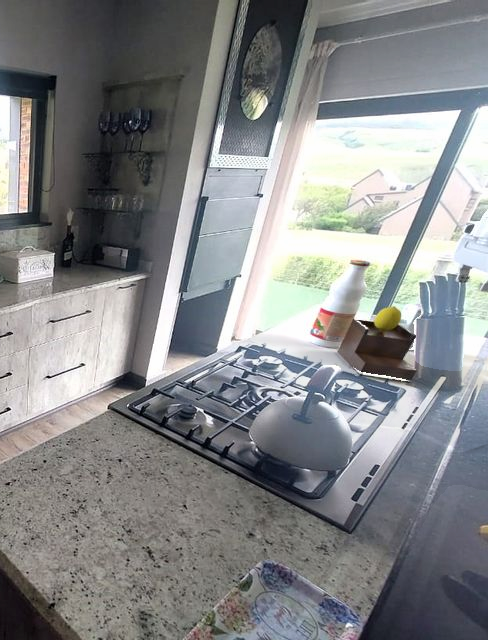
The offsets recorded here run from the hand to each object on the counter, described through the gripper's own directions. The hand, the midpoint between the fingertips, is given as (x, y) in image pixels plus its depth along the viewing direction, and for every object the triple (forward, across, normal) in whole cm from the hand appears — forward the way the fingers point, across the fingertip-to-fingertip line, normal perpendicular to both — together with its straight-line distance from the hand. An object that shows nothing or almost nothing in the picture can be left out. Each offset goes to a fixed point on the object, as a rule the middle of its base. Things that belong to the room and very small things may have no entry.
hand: (471, 286), depth 105 cm
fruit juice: (+27, +20, +18) cm, 38 cm away
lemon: (+17, +8, +10) cm, 21 cm away
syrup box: (+28, +27, -6) cm, 39 cm away
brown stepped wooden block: (+27, +4, +10) cm, 29 cm away
